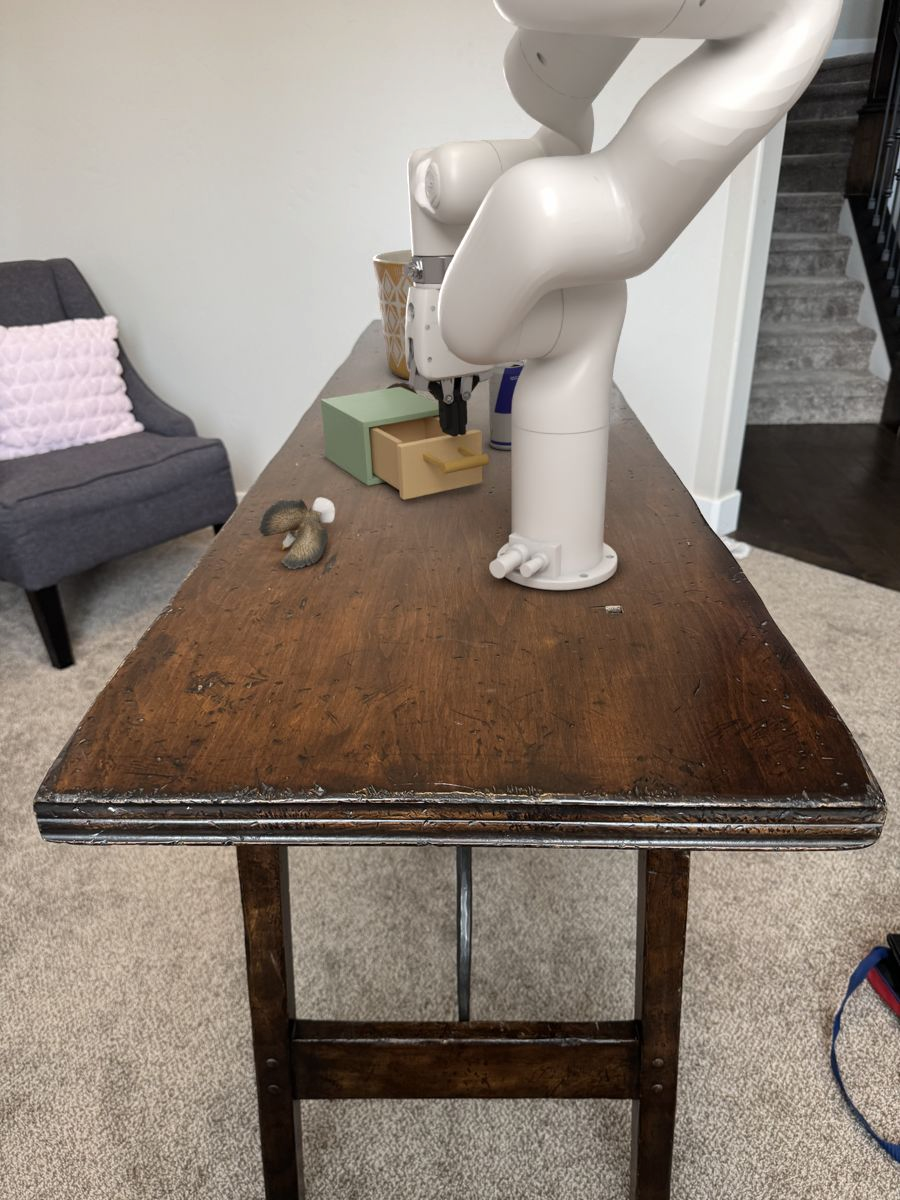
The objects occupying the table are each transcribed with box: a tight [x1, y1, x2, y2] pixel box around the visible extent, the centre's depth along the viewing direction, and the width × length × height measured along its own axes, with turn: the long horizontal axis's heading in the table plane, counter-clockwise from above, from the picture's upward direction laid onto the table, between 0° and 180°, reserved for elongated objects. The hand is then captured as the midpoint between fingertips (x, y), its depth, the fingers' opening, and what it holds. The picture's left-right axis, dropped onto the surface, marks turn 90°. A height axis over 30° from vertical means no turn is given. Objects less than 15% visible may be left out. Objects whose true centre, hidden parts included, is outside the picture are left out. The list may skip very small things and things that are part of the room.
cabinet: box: [320, 387, 439, 487], centre depth 125 cm, size 15×13×9 cm
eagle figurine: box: [257, 496, 336, 570], centre depth 98 cm, size 8×7×9 cm
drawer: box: [369, 416, 490, 501], centre depth 114 cm, size 20×11×7 cm, turn 29°
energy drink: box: [488, 360, 526, 451], centre depth 130 cm, size 5×5×12 cm
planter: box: [372, 249, 452, 383], centre depth 173 cm, size 26×26×22 cm
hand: (453, 433), depth 107 cm, fingers closed
